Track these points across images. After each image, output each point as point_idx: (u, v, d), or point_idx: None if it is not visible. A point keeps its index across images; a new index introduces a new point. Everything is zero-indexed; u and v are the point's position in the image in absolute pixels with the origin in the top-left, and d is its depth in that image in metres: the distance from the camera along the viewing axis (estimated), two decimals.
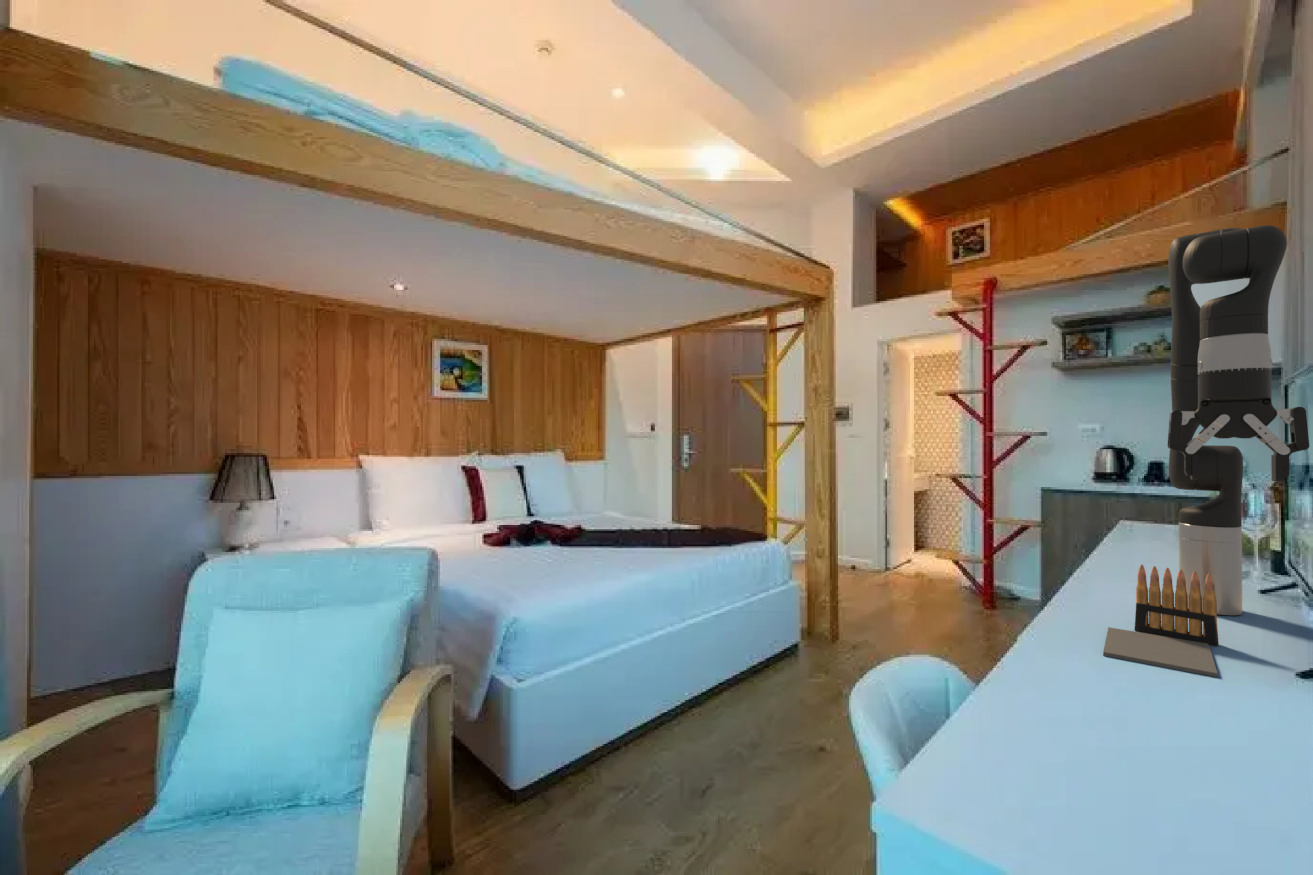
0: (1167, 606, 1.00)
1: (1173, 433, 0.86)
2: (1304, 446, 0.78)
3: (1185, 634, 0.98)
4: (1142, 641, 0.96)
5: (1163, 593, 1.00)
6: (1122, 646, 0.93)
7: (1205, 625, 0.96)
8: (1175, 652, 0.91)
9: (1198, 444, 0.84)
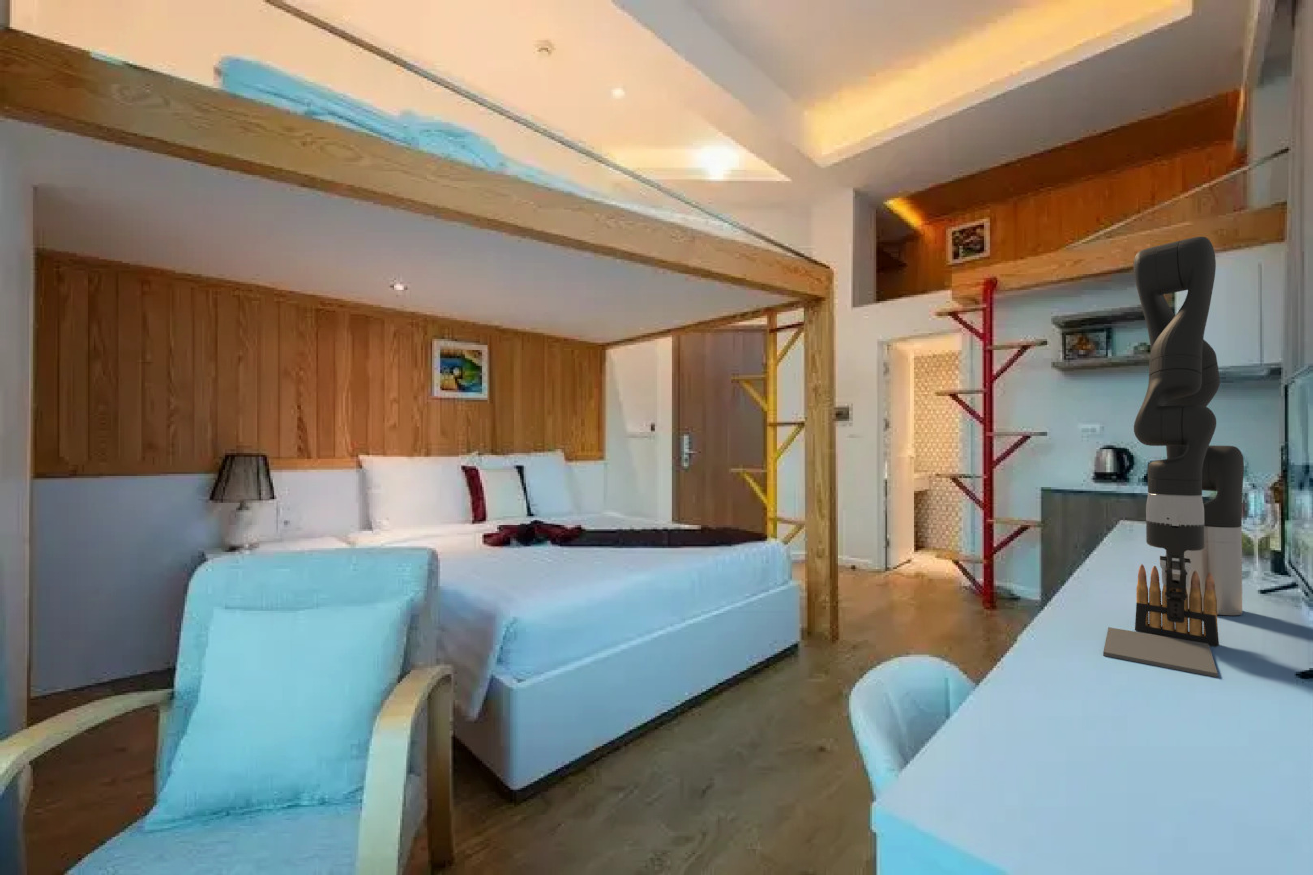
0: None
1: (1185, 588, 0.95)
2: None
3: (1185, 634, 0.98)
4: (1142, 641, 0.96)
5: (1163, 593, 1.00)
6: (1122, 646, 0.93)
7: (1205, 625, 0.96)
8: (1175, 652, 0.91)
9: None
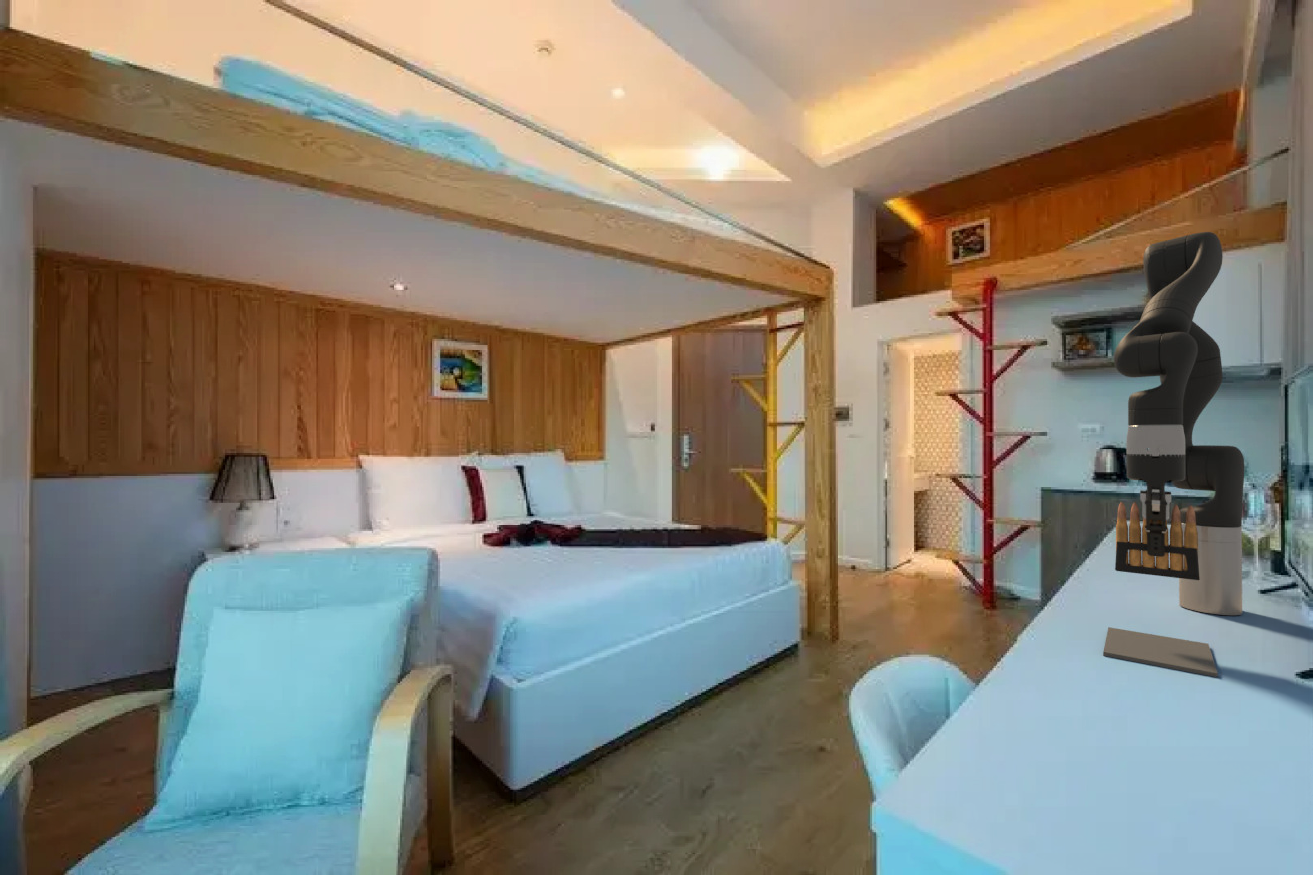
0: None
1: (1165, 519, 0.93)
2: None
3: (1167, 570, 0.95)
4: (1142, 641, 0.96)
5: (1144, 529, 0.97)
6: (1122, 646, 0.93)
7: (1187, 559, 0.94)
8: (1175, 652, 0.91)
9: None
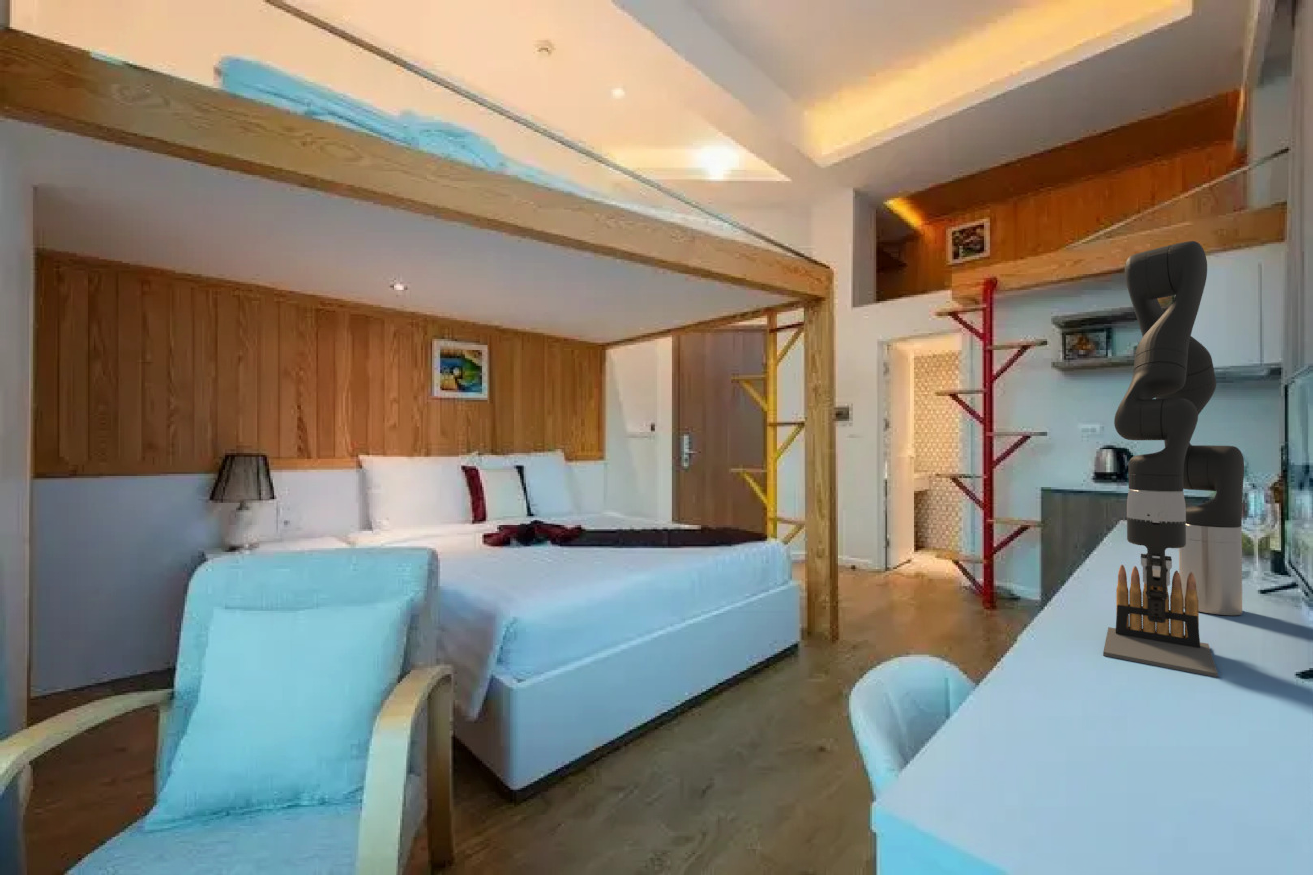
0: None
1: (1166, 586, 0.92)
2: None
3: (1167, 636, 0.95)
4: (1142, 641, 0.96)
5: (1144, 594, 0.97)
6: (1122, 646, 0.93)
7: (1188, 626, 0.93)
8: (1175, 652, 0.91)
9: None
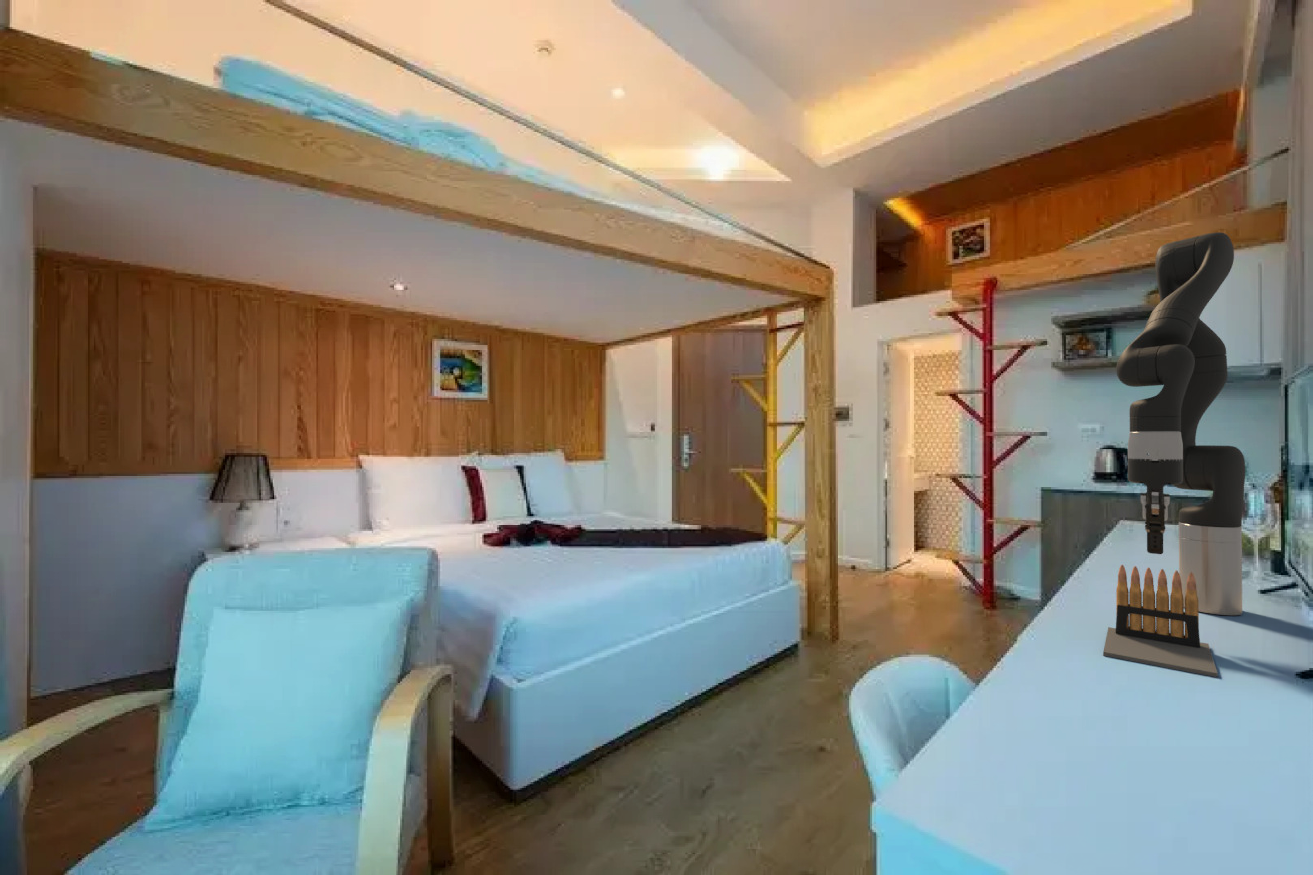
0: (1149, 607, 0.97)
1: (1164, 520, 1.00)
2: None
3: (1167, 636, 0.95)
4: (1142, 641, 0.96)
5: (1145, 594, 0.97)
6: (1122, 646, 0.93)
7: (1188, 626, 0.93)
8: (1175, 652, 0.91)
9: None
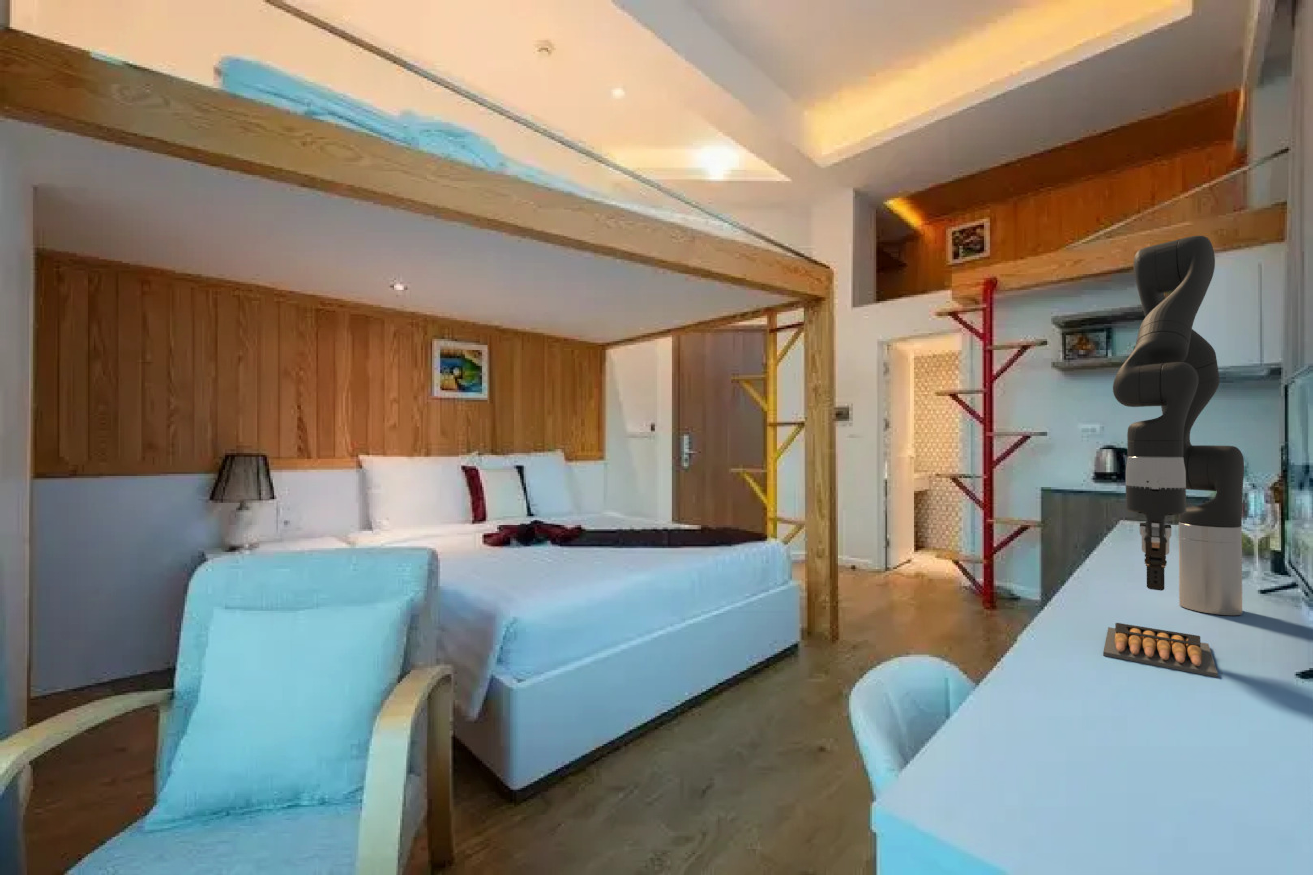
0: None
1: (1165, 555, 0.91)
2: None
3: None
4: (1142, 641, 0.96)
5: None
6: None
7: None
8: None
9: None
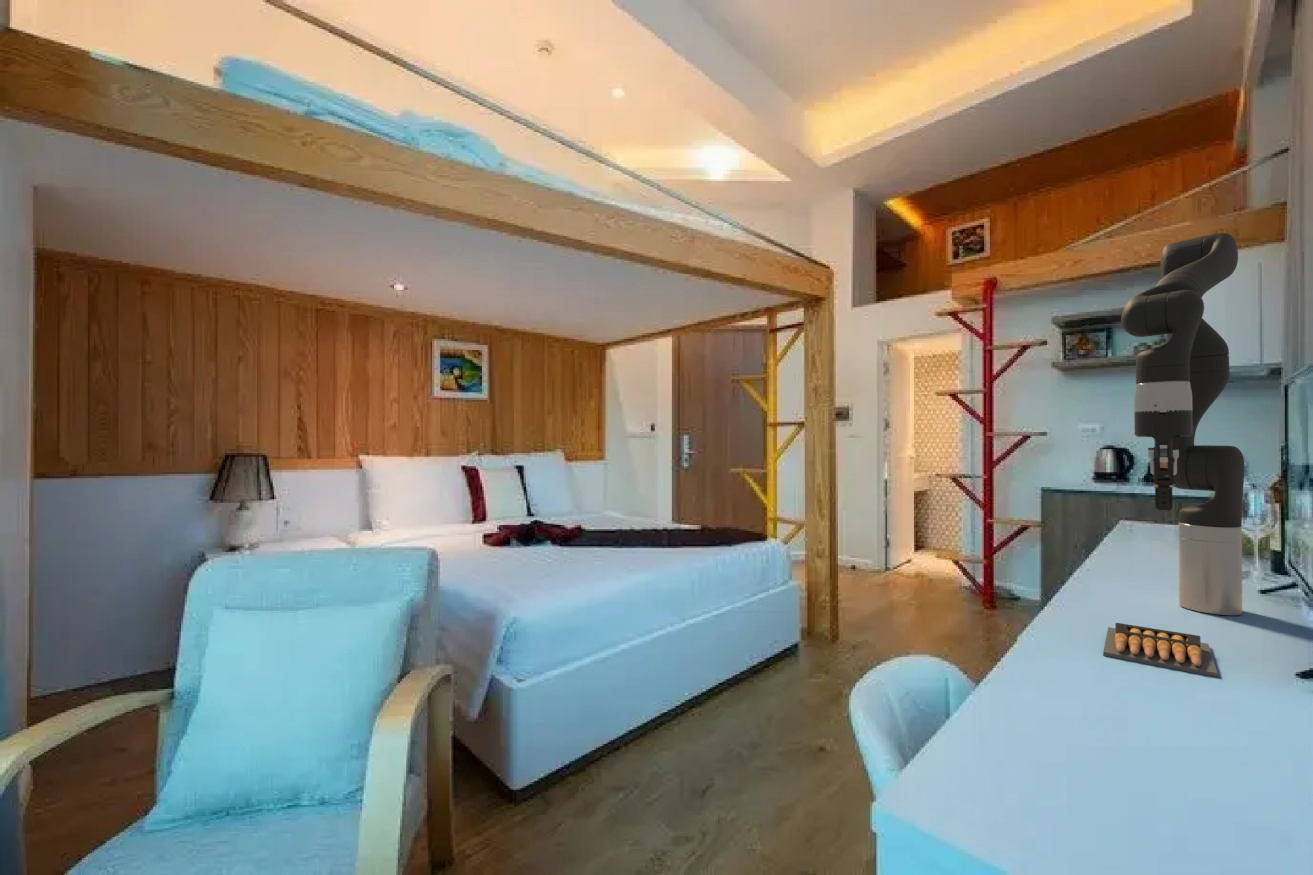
0: None
1: None
2: (1172, 480, 1.00)
3: None
4: (1142, 641, 0.96)
5: None
6: None
7: None
8: None
9: None
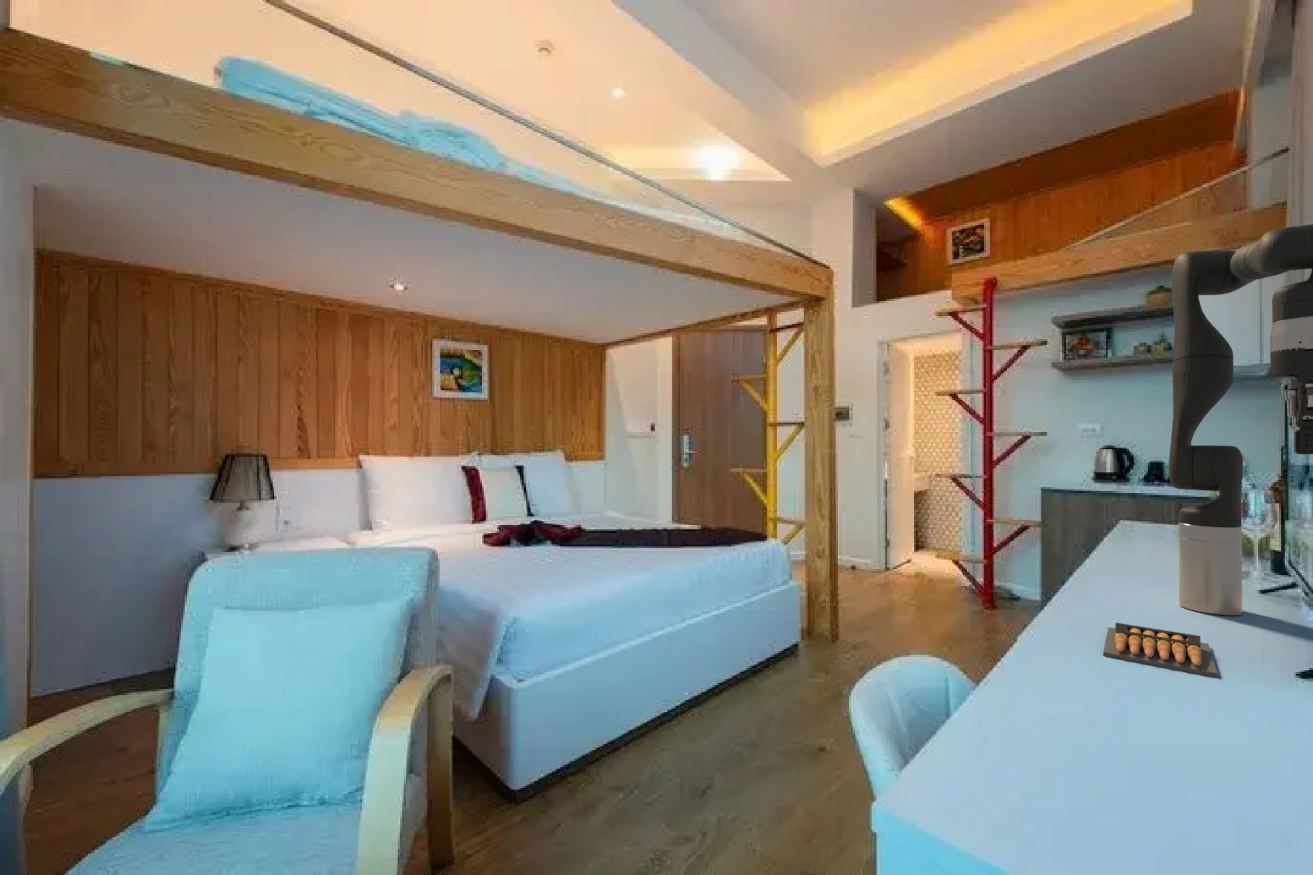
0: None
1: None
2: None
3: None
4: (1142, 641, 0.96)
5: None
6: None
7: None
8: None
9: None
